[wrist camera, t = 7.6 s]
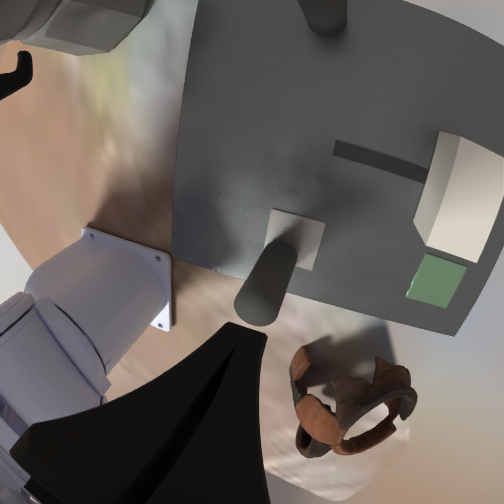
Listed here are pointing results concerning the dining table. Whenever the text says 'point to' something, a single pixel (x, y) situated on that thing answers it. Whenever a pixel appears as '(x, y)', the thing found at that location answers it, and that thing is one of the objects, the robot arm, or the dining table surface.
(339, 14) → the black cylinder
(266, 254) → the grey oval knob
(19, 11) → the coffeepot
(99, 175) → the dining table surface
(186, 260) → the panel
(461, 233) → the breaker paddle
